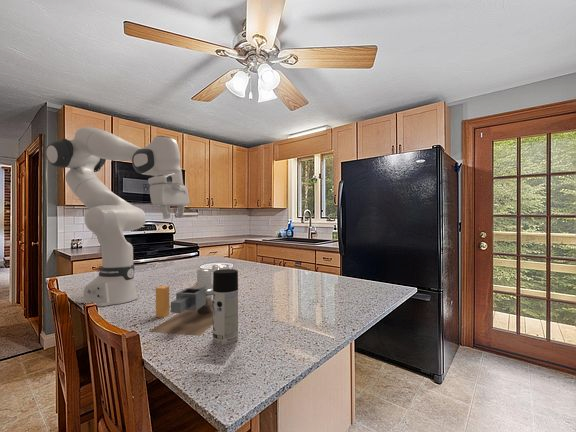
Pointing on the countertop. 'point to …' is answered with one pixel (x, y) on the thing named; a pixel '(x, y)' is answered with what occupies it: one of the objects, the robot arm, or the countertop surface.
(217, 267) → the beer glass
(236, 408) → the countertop surface
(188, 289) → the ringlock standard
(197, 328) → the base board
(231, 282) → the spray can
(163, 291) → the orange rectangular block
